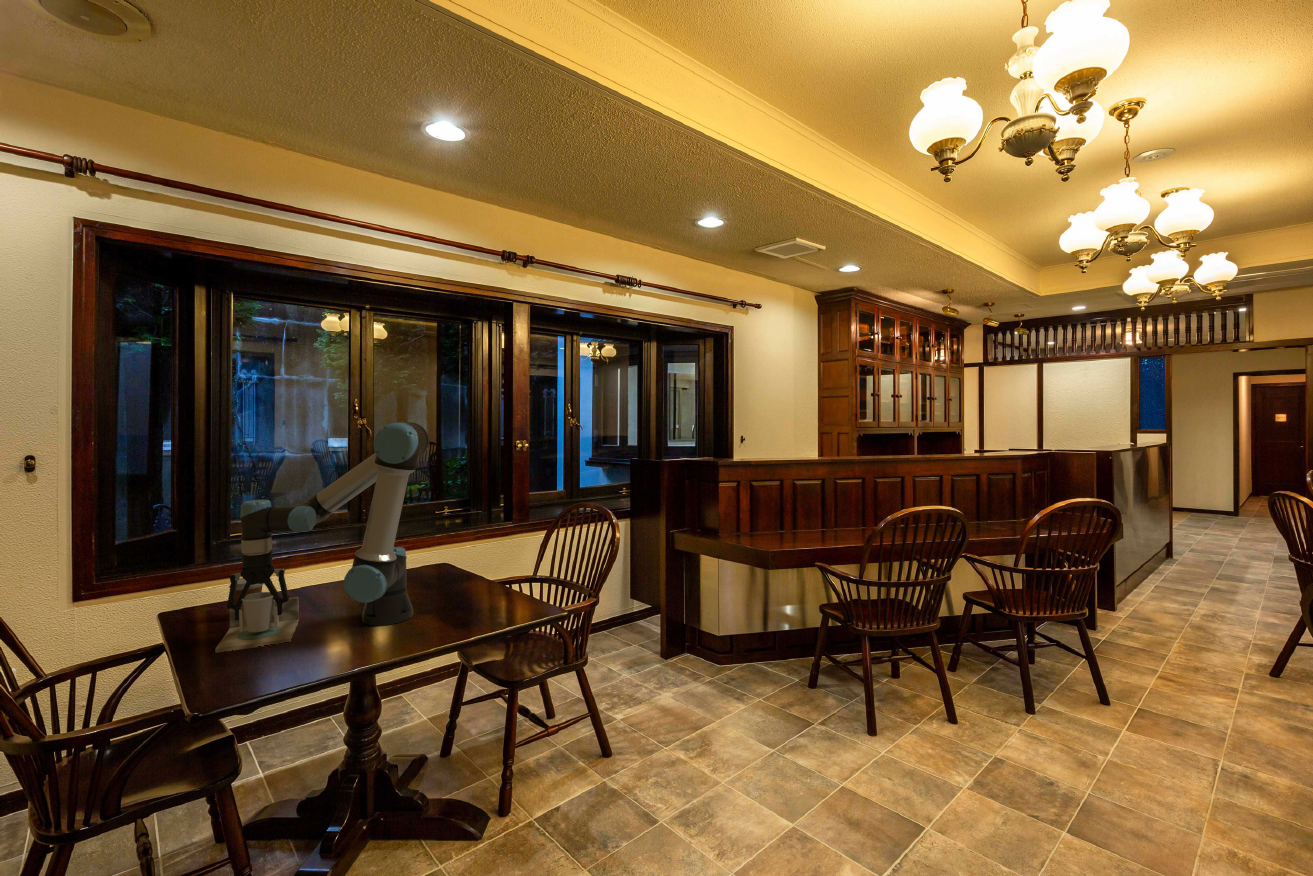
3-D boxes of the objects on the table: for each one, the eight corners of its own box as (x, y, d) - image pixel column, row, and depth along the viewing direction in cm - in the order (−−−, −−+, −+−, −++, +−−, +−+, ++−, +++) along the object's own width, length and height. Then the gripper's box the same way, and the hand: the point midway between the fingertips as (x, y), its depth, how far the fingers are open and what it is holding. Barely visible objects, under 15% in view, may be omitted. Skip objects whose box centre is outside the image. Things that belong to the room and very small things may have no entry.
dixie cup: (278, 629, 179) (277, 595, 179) (245, 636, 174) (244, 601, 173) (272, 622, 185) (271, 590, 185) (239, 628, 180) (238, 595, 179)
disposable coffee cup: (272, 613, 202) (271, 577, 201) (245, 622, 193) (244, 585, 192) (249, 610, 204) (248, 575, 204) (222, 619, 195) (221, 583, 195)
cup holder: (298, 621, 193) (298, 597, 193) (290, 642, 175) (289, 615, 175) (231, 630, 185) (230, 604, 185) (215, 652, 168) (214, 624, 167)
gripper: (299, 546, 186) (301, 619, 187) (217, 553, 178) (220, 629, 179) (296, 551, 180) (298, 626, 180) (211, 558, 171) (214, 638, 172)
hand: (259, 628), depth 179 cm, fingers closed on dixie cup, 8 cm apart
